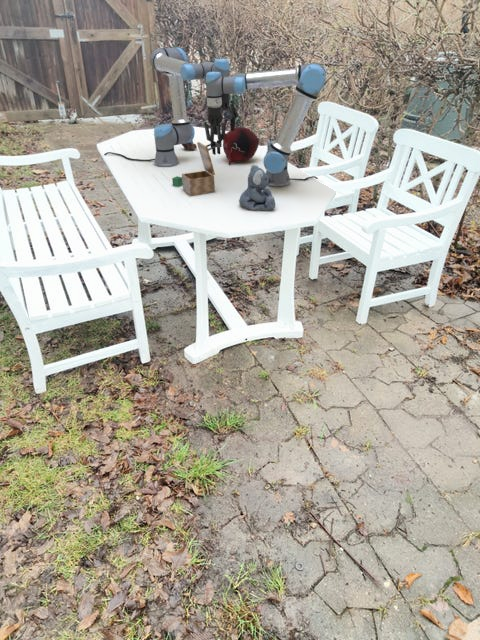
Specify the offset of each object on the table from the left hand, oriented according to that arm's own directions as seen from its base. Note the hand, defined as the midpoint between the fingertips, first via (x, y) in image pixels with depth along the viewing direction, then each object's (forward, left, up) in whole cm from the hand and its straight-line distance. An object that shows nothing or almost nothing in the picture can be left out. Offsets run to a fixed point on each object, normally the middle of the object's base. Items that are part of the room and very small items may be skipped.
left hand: (224, 132), depth 258 cm
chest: (+8, -30, -25) cm, 40 cm away
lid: (+10, -25, -8) cm, 28 cm away
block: (-8, -31, -25) cm, 40 cm away
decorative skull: (-16, +31, -25) cm, 43 cm away
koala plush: (+48, -26, -25) cm, 60 cm away
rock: (-63, +27, -25) cm, 73 cm away
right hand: (+13, -19, -6) cm, 24 cm away
